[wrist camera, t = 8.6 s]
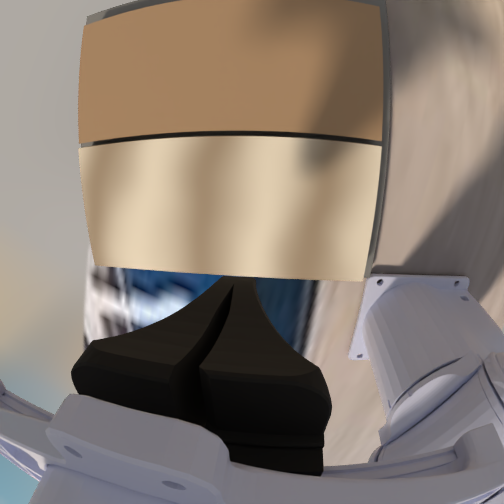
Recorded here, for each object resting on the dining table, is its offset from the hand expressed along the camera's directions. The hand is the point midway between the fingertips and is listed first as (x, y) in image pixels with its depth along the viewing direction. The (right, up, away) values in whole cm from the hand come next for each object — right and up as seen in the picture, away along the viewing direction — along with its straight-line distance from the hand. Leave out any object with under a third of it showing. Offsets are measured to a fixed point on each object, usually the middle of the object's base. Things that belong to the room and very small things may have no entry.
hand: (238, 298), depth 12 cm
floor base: (-1, +9, +5) cm, 11 cm away
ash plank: (-1, +5, +6) cm, 8 cm away
